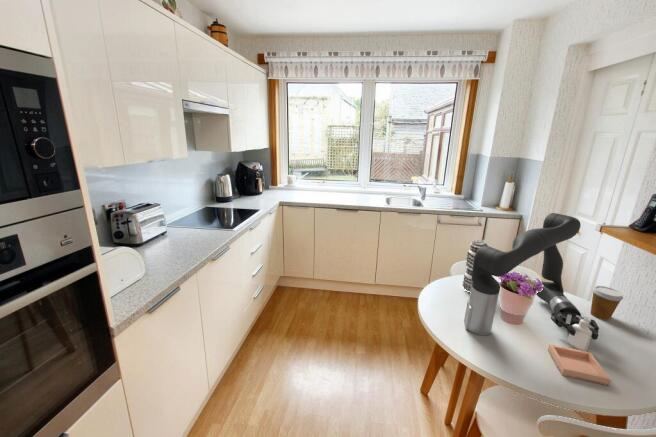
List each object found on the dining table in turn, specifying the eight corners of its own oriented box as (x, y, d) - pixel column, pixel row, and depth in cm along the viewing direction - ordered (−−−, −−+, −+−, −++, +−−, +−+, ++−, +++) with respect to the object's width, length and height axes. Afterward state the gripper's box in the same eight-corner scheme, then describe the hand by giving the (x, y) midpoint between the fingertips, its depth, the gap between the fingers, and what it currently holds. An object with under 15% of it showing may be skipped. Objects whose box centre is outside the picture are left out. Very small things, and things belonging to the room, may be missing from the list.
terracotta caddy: (561, 375, 93) (563, 368, 93) (547, 350, 104) (549, 344, 104) (608, 385, 90) (610, 379, 89) (588, 358, 101) (590, 352, 100)
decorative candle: (481, 296, 138) (491, 247, 131) (459, 291, 142) (468, 242, 136) (482, 288, 145) (492, 241, 138) (462, 283, 150) (470, 237, 143)
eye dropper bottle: (577, 351, 104) (586, 322, 101) (564, 341, 109) (573, 313, 106) (589, 352, 104) (599, 322, 101) (576, 341, 109) (585, 313, 106)
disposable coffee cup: (620, 320, 123) (629, 295, 120) (605, 324, 120) (614, 298, 117) (594, 308, 132) (602, 284, 128) (580, 311, 129) (587, 286, 126)
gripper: (545, 297, 119) (563, 321, 104) (588, 304, 115) (613, 331, 99) (541, 313, 121) (558, 339, 106) (583, 321, 117) (607, 349, 101)
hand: (584, 335), depth 103 cm, fingers open, 5 cm apart
